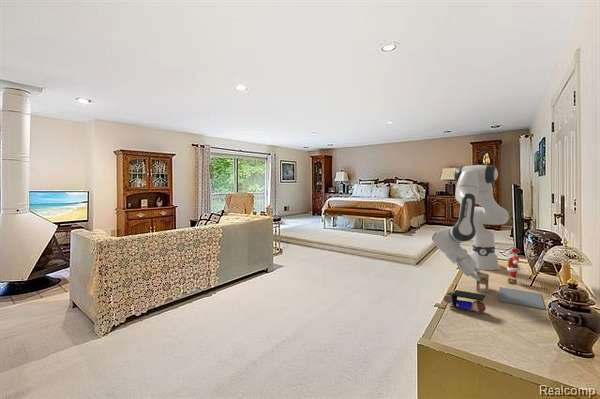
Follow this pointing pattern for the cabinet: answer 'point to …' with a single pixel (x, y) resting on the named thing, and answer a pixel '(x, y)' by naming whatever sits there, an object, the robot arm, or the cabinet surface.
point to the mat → (521, 298)
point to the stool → (482, 280)
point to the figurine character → (476, 305)
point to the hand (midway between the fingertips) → (480, 277)
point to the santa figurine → (513, 265)
